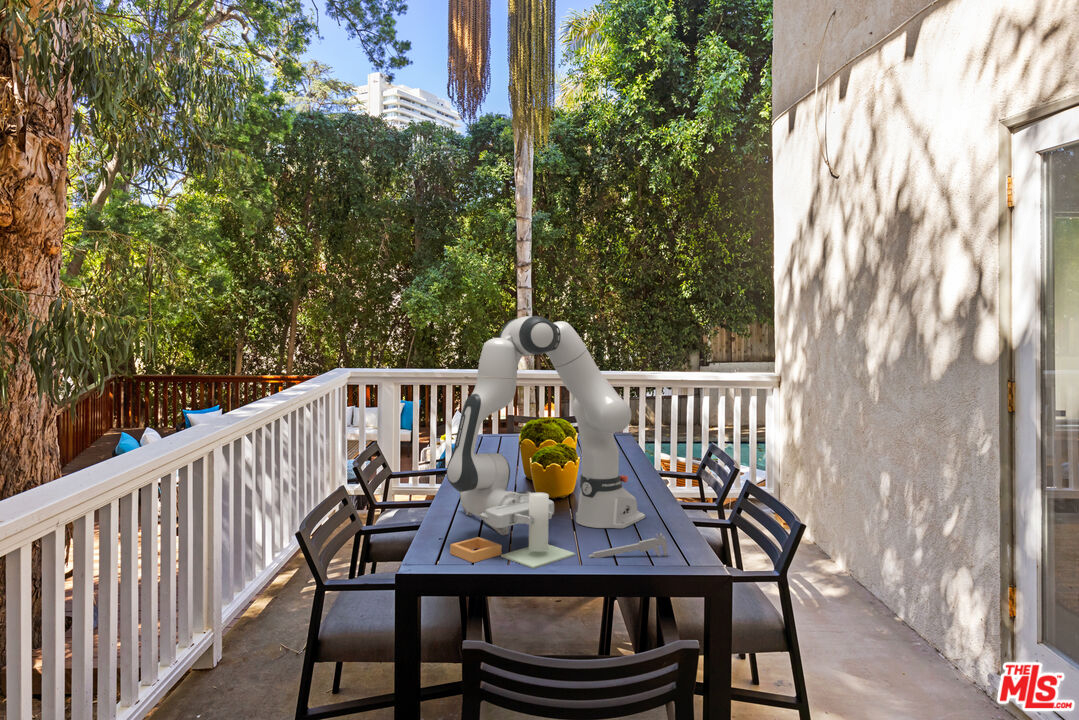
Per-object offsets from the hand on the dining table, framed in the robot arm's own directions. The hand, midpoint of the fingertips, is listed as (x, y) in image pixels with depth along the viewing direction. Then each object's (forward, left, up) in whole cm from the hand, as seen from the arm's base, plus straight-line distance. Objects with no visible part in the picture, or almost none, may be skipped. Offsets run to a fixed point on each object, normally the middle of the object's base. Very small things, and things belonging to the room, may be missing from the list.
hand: (541, 518), depth 186 cm
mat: (0, -1, -10) cm, 10 cm away
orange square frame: (+11, -13, -10) cm, 20 cm away
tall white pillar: (0, -1, -8) cm, 8 cm away
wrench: (-9, -34, -10) cm, 37 cm away
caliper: (-17, +15, -10) cm, 25 cm away
